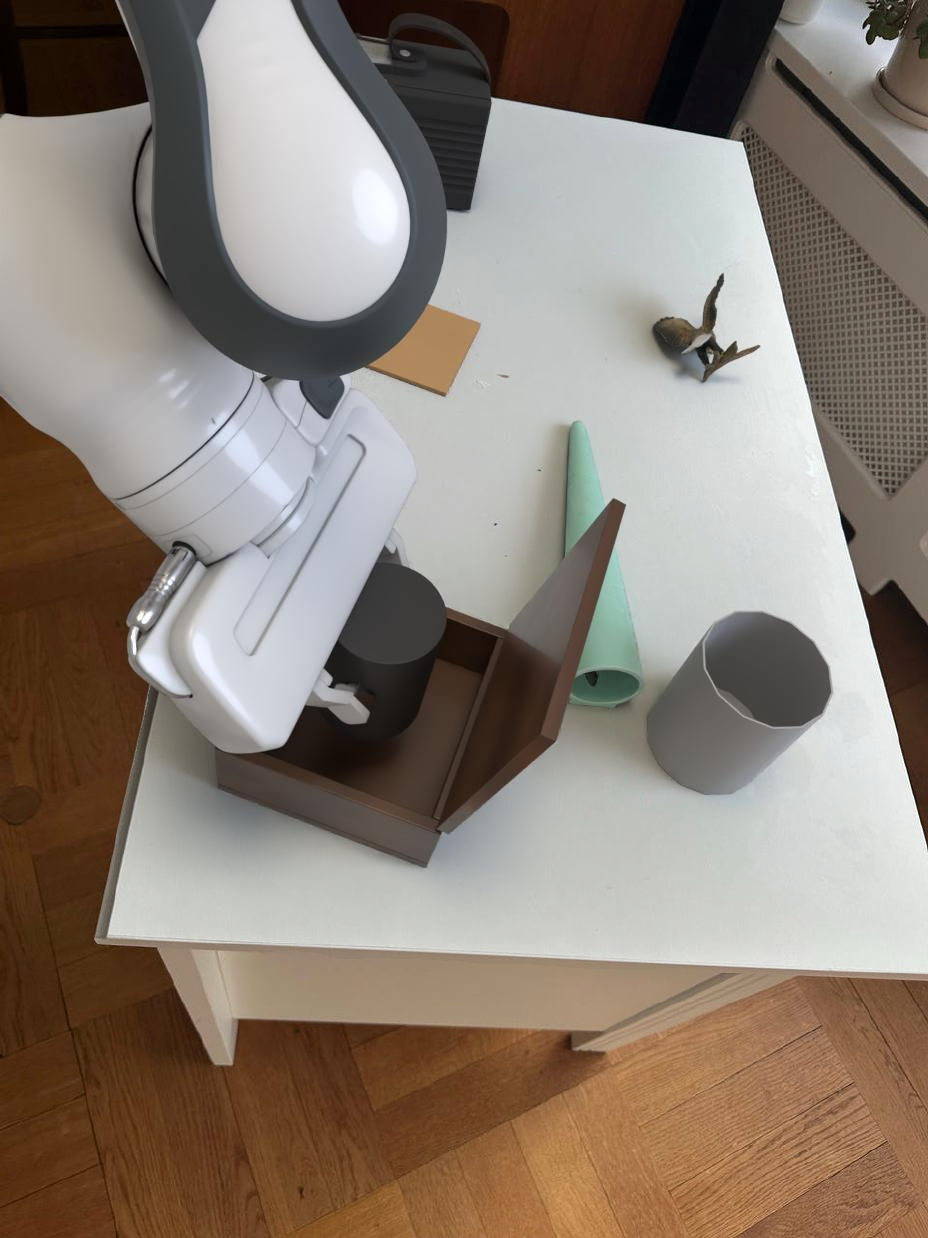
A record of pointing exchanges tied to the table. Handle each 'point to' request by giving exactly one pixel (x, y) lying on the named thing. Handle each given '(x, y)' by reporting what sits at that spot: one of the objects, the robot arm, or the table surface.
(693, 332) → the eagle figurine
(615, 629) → the mint green cone
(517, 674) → the chest lid
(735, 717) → the cup
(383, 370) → the cork mat
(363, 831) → the chest
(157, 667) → the robot arm
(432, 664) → the dark grey cylinder
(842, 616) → the table surface
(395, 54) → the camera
